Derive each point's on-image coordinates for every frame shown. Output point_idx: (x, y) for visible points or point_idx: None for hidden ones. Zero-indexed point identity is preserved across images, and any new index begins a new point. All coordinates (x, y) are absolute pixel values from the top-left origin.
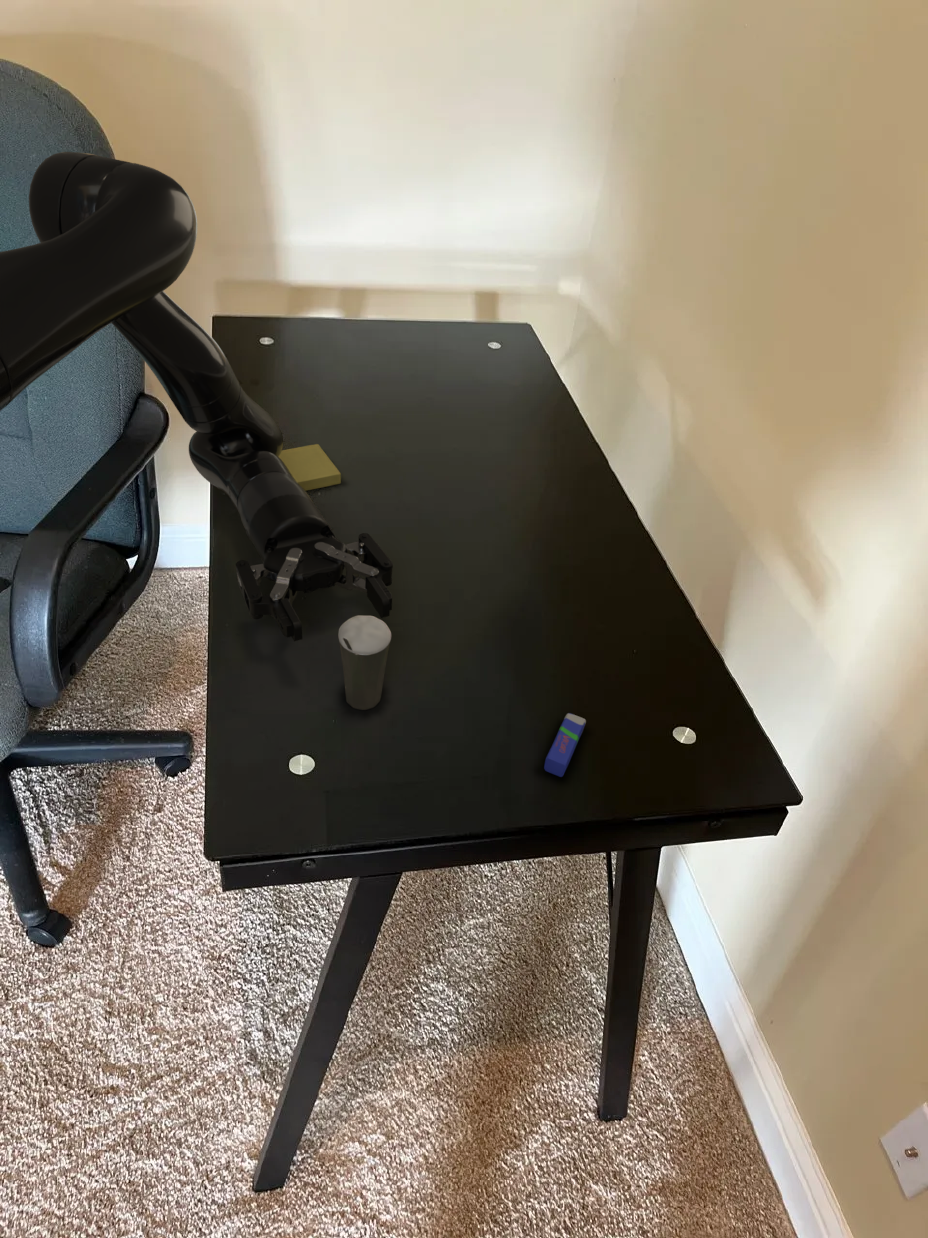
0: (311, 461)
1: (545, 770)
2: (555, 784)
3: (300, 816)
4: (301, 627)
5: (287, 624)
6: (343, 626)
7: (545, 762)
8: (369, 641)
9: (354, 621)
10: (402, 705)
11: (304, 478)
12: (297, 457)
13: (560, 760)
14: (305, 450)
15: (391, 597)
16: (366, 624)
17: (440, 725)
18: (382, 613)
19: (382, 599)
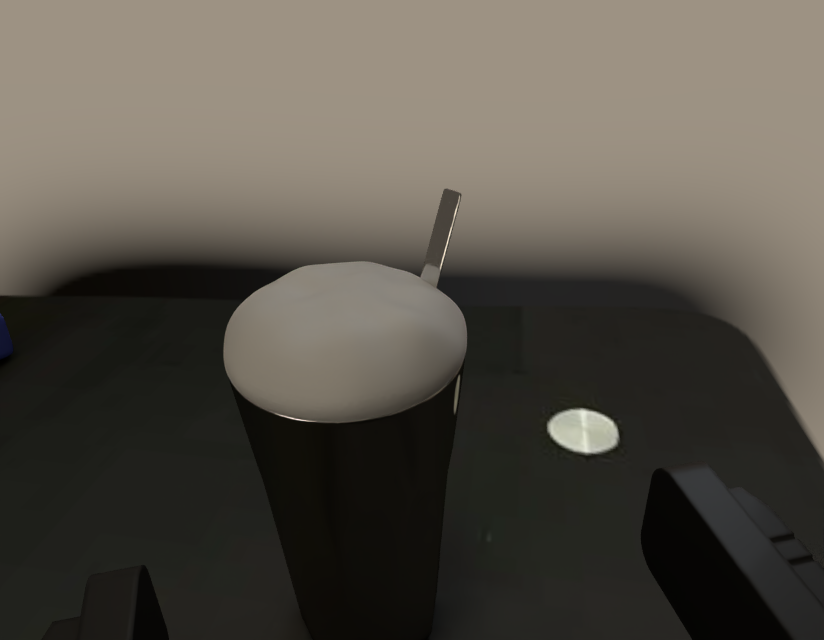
0: None
1: (12, 351)
2: (19, 336)
3: (577, 339)
4: (653, 473)
5: (738, 498)
6: (440, 322)
7: (6, 328)
8: (344, 264)
9: (383, 315)
10: (244, 562)
11: None
12: None
13: None
14: None
15: (50, 632)
16: (332, 292)
17: (167, 483)
18: (161, 621)
19: (131, 577)
